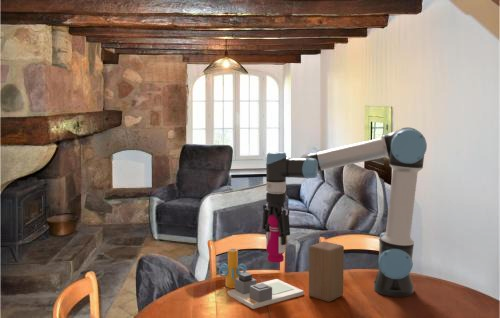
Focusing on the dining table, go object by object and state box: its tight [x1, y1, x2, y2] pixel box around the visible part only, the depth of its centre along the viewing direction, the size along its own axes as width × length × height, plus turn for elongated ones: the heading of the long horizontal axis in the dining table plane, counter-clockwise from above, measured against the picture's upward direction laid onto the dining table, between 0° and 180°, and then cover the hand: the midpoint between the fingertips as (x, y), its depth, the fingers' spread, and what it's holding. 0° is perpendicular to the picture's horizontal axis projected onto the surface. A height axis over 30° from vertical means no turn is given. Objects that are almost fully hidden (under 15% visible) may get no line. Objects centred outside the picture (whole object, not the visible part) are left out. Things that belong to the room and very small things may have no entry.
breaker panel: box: [227, 277, 305, 310], centre depth 198 cm, size 17×24×6 cm
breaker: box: [239, 271, 253, 282], centre depth 198 cm, size 4×4×4 cm
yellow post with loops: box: [218, 248, 248, 289], centre depth 207 cm, size 12×10×15 cm
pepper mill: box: [265, 214, 285, 264], centre depth 199 cm, size 7×7×20 cm
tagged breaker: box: [254, 284, 268, 290], centre depth 190 cm, size 4×4×4 cm
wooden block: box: [308, 241, 345, 303], centre depth 196 cm, size 10×10×20 cm
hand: (275, 250), depth 199 cm, fingers closed on pepper mill, 7 cm apart
